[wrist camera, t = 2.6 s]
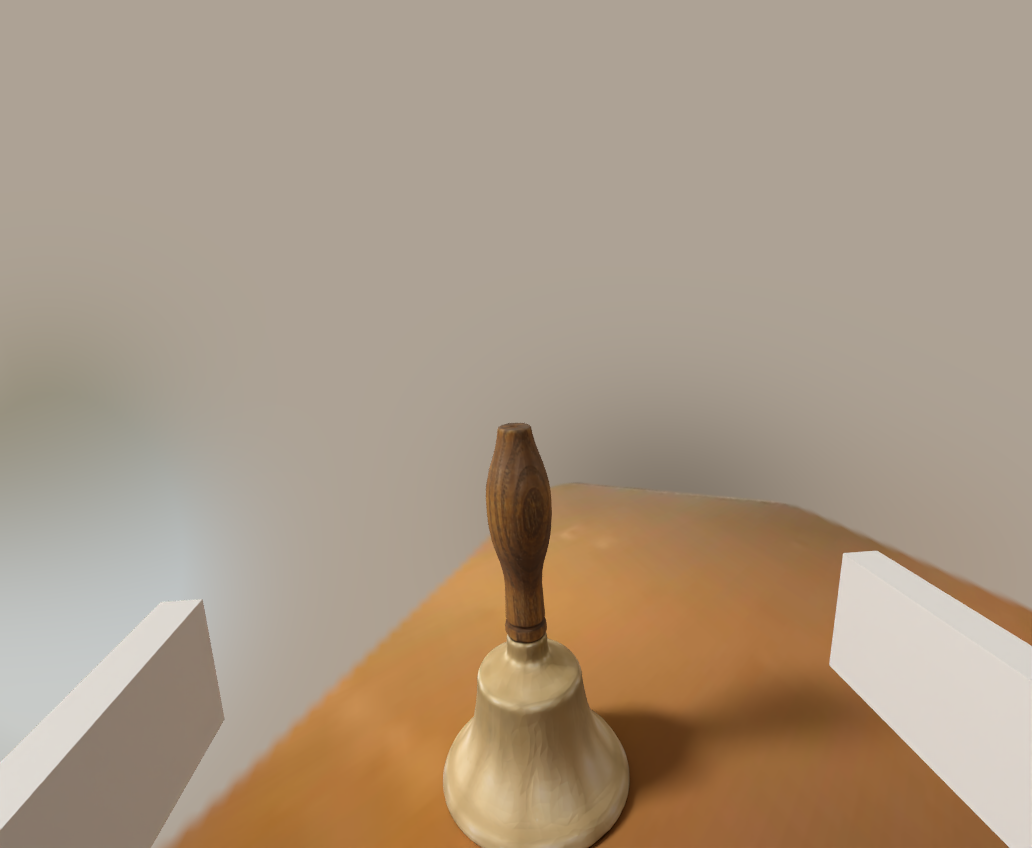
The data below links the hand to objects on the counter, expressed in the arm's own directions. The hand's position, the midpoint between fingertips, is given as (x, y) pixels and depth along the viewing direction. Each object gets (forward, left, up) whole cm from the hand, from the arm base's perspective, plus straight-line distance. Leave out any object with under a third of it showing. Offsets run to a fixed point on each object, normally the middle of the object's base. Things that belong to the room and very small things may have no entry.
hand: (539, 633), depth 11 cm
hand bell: (-6, -8, -14) cm, 17 cm away
